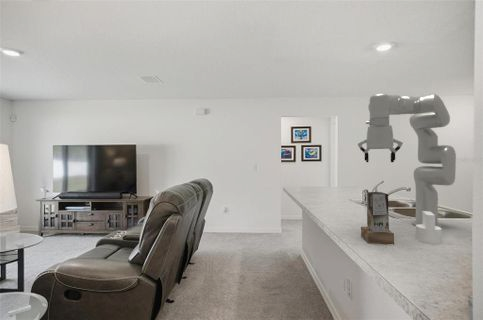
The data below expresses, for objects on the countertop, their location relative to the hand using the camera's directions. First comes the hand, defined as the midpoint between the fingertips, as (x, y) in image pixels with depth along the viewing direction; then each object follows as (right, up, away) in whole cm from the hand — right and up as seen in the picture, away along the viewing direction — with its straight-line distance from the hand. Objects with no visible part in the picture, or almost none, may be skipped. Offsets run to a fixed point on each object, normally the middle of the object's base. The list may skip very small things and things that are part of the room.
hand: (379, 162), depth 112 cm
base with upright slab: (+21, -34, -1) cm, 40 cm away
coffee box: (-1, -30, -1) cm, 30 cm away
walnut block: (-2, -35, 0) cm, 35 cm away
